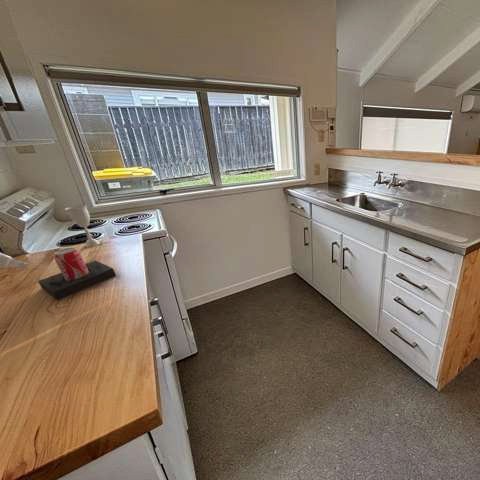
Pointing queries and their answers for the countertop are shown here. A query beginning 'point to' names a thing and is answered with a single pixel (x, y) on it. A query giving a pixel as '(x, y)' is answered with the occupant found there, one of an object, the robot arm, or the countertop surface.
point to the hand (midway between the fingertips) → (22, 264)
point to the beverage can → (71, 263)
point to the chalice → (82, 221)
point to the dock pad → (76, 280)
